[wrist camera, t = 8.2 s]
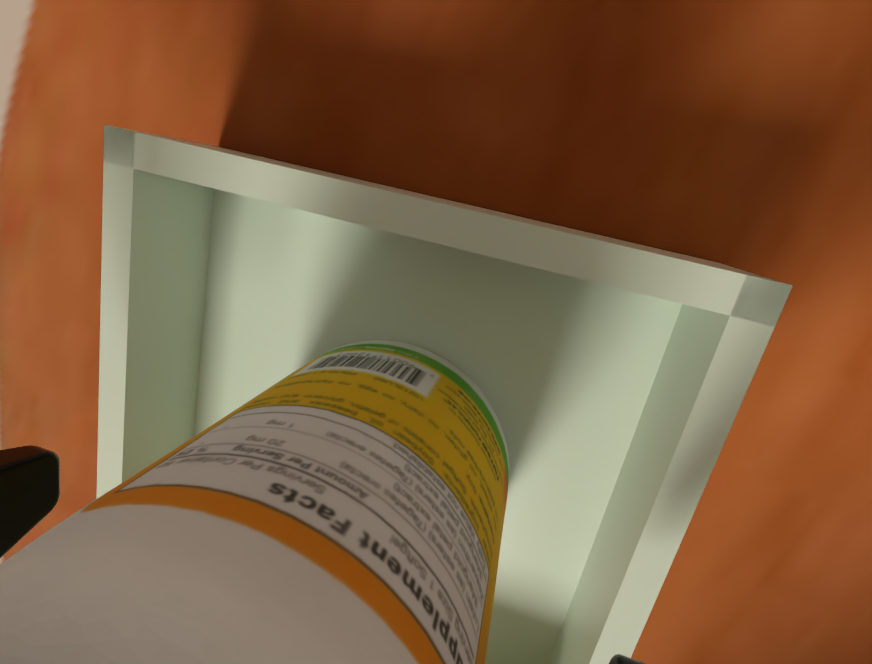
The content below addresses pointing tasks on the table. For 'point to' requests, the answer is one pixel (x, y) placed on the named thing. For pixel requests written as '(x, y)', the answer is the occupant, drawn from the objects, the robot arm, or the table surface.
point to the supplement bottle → (287, 532)
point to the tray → (446, 337)
